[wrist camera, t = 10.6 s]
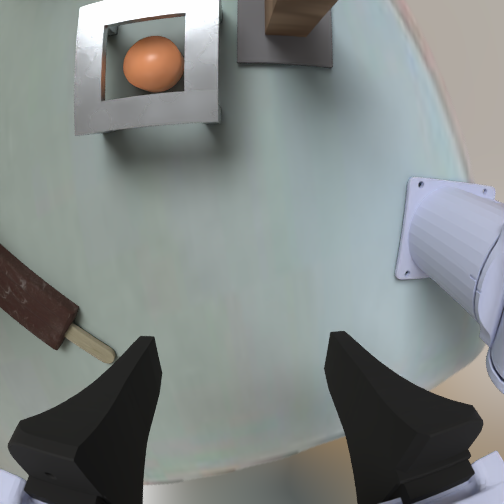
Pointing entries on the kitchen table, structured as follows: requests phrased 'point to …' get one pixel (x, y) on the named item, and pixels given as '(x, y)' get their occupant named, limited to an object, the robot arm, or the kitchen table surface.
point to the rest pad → (280, 40)
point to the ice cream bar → (43, 308)
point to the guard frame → (153, 105)
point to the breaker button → (153, 64)
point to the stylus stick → (294, 16)
